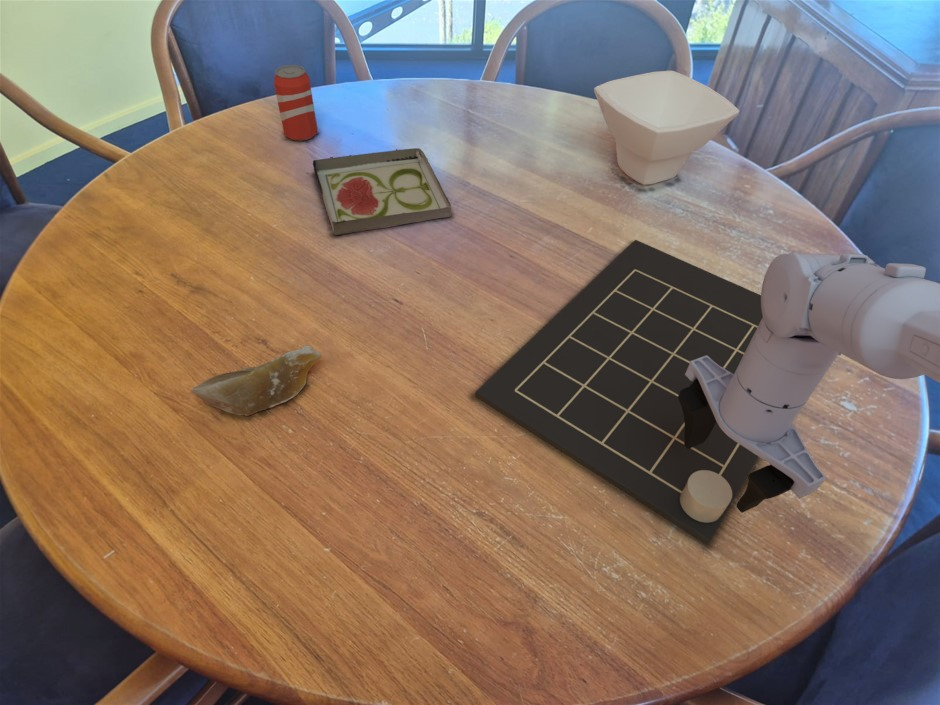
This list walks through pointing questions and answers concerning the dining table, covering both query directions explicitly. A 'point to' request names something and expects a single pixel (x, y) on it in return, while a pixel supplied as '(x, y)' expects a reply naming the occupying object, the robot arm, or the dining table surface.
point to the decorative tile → (380, 190)
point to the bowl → (660, 121)
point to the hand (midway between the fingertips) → (719, 473)
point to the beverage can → (295, 102)
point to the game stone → (705, 496)
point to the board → (634, 377)
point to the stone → (259, 383)
